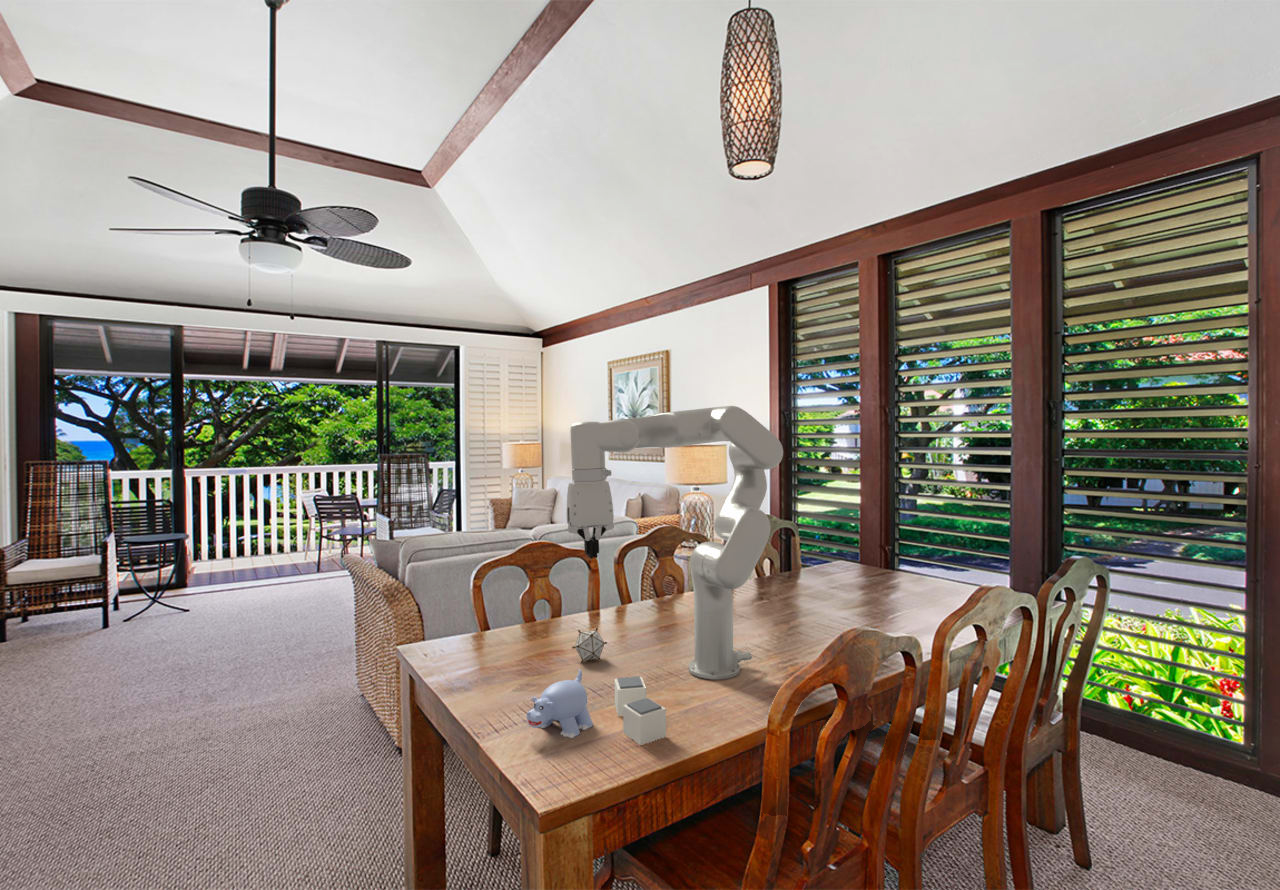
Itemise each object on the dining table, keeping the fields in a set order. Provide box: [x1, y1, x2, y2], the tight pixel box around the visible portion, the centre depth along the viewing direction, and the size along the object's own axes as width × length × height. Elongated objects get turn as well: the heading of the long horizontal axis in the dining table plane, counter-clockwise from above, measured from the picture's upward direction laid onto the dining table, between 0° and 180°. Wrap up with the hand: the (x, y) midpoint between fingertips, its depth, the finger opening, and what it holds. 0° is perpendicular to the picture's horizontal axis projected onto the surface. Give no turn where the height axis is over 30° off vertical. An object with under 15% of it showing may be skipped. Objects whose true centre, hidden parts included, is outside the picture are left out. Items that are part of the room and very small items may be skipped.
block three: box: [613, 675, 647, 717], centre depth 133 cm, size 6×6×6 cm
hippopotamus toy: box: [526, 668, 594, 739], centre depth 125 cm, size 11×15×10 cm
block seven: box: [622, 697, 667, 746], centre depth 121 cm, size 6×6×6 cm
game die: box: [571, 627, 608, 664], centre depth 162 cm, size 9×8×10 cm
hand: (592, 556), depth 141 cm, fingers closed
